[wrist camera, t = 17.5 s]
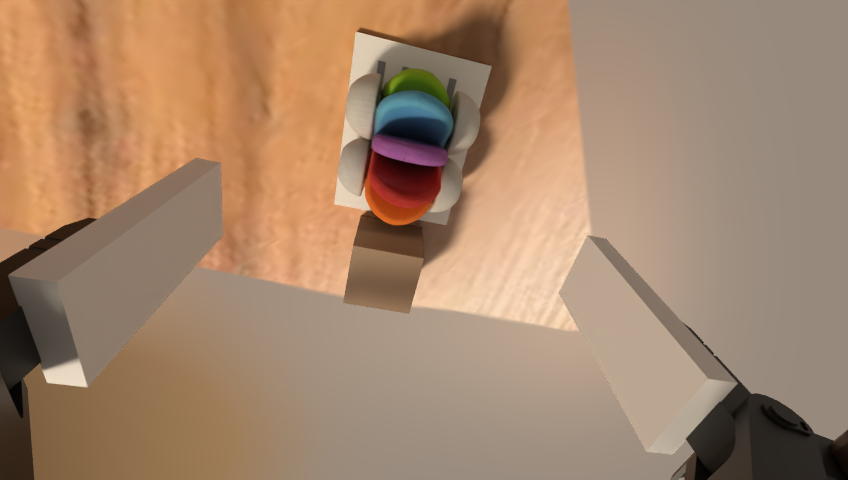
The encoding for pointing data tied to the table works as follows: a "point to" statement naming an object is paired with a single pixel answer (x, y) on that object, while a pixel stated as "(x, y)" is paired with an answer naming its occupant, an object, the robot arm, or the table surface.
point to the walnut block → (384, 265)
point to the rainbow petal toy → (406, 144)
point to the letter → (389, 62)
